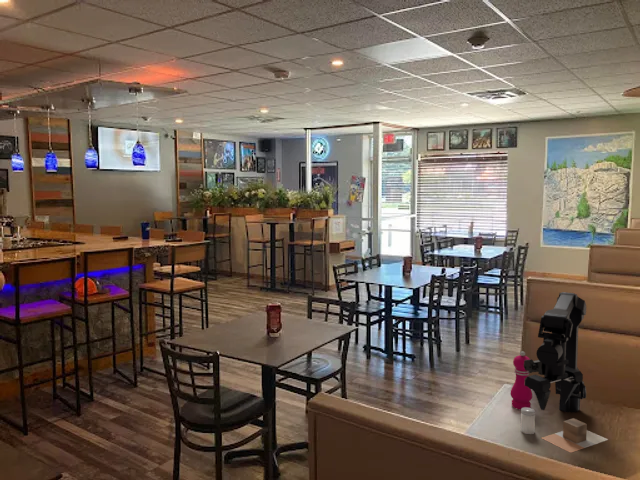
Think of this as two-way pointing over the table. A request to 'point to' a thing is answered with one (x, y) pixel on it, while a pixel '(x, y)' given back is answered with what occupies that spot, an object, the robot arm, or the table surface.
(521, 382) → the pepper mill
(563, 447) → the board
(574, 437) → the block
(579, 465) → the table surface
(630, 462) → the table surface
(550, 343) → the robot arm
